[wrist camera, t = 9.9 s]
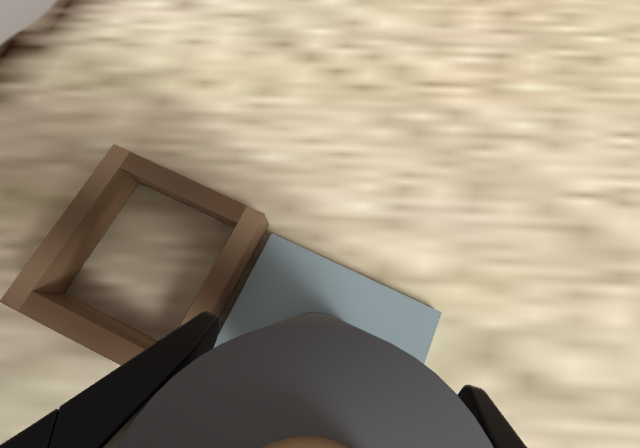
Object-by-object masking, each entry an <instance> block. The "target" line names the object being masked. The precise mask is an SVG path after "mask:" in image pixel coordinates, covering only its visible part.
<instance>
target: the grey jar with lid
mask: <svg viewBox="0 0 640 448" xmlns="http://www.w3.org/2000/svg"><path fill="white" fill-rule="evenodd" d="M117 448H493V446H492V444H491V442H490V440H489V439H488V437H487V436H486V434H485V432H484V431H483V429H482V428H481V426H480V424H479V423H478V421H477V420H476V418H475V417H474V415H473V414H472V413H471V412H470V410H469V409H468V408H467V407H466V405H465V404H464V403H463V402H462V400H461V399H460V398H459V397H458V395H457V394H456V393H455V392H454V391H453V390H452V389H451V388H450V387H449V386H448V385H447V384H446V383H445V382H444V381H443V380H442V379H441V378H440V377H439V376H438V375H437V374H436V373H434V372H433V371H432V370H431V369H429V368H428V367H427V366H425V365H424V364H423V363H422V362H420V361H419V360H418V359H416V358H415V357H414V356H412V355H410V354H409V353H407V352H405V351H403V350H402V349H400V348H398V347H397V346H395V345H393V344H392V343H390V342H387V341H385V340H383V339H381V338H379V337H377V336H374V335H372V334H370V333H368V332H366V331H364V330H362V329H359V328H357V327H355V326H353V325H351V324H349V323H346V322H344V321H342V320H340V319H338V318H336V317H333V316H331V315H328V314H324V313H318V312H312V313H304V314H301V315H298V316H295V317H292V318H289V319H286V320H283V321H280V322H277V323H274V324H272V325H269V326H266V327H263V328H260V329H257V330H254V331H251V332H248V333H245V334H243V335H241V336H238V337H236V338H234V339H231V340H229V341H227V342H224V343H222V344H220V345H218V346H217V347H215V348H213V349H211V350H210V351H208V352H206V353H205V354H203V355H201V356H200V357H198V358H196V359H195V360H194V361H193V362H191V363H190V364H189V365H187V366H186V367H185V368H183V369H182V370H181V371H180V372H178V373H177V374H176V375H175V376H173V377H172V378H171V379H170V380H169V381H168V382H167V383H166V384H165V385H164V386H163V387H162V388H161V389H160V390H159V391H158V392H157V393H156V394H155V395H154V396H153V397H152V399H151V400H150V401H149V402H148V404H147V405H146V406H145V407H144V408H143V410H142V411H141V412H140V413H139V415H138V416H137V417H136V418H135V420H134V421H133V423H132V424H131V426H130V427H129V429H128V430H127V432H126V433H125V435H124V437H123V438H122V440H121V441H120V443H119V444H118V446H117Z"/></svg>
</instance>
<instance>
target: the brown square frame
mask: <svg viewBox="0 0 640 448" xmlns="http://www.w3.org/2000/svg"><path fill="white" fill-rule="evenodd" d="M138 183H142V184H144V185H146V186H148V187H150V188H152V189H154V190H156V191H159V192H161V193H163V194H165V195H167V196H169V197H171V198H173V199H176V200H178V201H180V202H182V203H184V204H186V205H188V206H190V207H193V208H195V209H197V210H199V211H201V212H203V213H205V214H207V215H210V216H212V217H214V218H216V219H218V220H220V221H222V222H224V223H227V224H229V225H231V226H233V227H235V229H234V230H233V232H232V234H231V236H230V238H229V239H228V241H227V243H226V245H225V246H224V248H223V250H222V252H221V254H220V255H219V257H218V259H217V261H216V263H215V264H214V266H213V268H212V270H211V271H210V273H209V275H208V277H207V279H206V280H205V282H204V284H203V286H202V288H201V289H200V291H199V293H198V295H197V296H196V298H195V300H194V302H193V304H192V305H191V307H190V309H189V311H188V313H187V314H186V316H185V318H184V320H183V321H182V323H181V325H180V326H182V325H183V324H185V323H186V322H188V321H189V320H191V319H192V318H194V317H195V316H197V315H198V314H200V313H201V312H204V311H207V312H211V313H214V314H217V315H218V316H219V318H220V316H221V314H222V312H223V310H224V308H225V306H226V304H227V303H228V301H229V299H230V297H231V295H232V293H233V291H234V289H235V287H236V286H237V284H238V282H239V280H240V278H241V276H242V274H243V272H244V270H245V269H246V267H247V265H248V263H249V261H250V259H251V257H252V255H253V253H254V252H255V250H256V248H257V246H258V244H259V242H260V240H261V238H262V237H263V235H264V233H265V231H266V229H267V227H268V225H269V223H268V221H267V219H266V216H265V214H263V213H261V212H259V211H257V210H255V209H252V208H250V207H248V206H246V205H244V204H242V203H240V202H237V201H235V200H233V199H231V198H229V197H227V196H224V195H222V194H220V193H218V192H216V191H214V190H211V189H209V188H207V187H205V186H203V185H201V184H199V183H196V182H194V181H192V180H190V179H188V178H186V177H183V176H181V175H179V174H177V173H175V172H173V171H170V170H168V169H166V168H164V167H162V166H160V165H157V164H155V163H153V162H151V161H149V160H147V159H145V158H142V157H140V156H138V155H136V154H134V153H132V152H129V151H127V150H125V149H123V148H121V147H119V146H116V145H113V146H112V148H111V149H110V151H109V152H108V153H107V155H106V156H105V157H104V159H103V160H102V161H101V163H100V164H99V166H98V167H97V168H96V170H95V171H94V172H93V174H92V175H91V177H90V178H89V179H88V181H87V182H86V183H85V185H84V186H83V188H82V189H81V190H80V192H79V193H78V194H77V196H76V197H75V199H74V200H73V201H72V203H71V204H70V205H69V207H68V208H67V210H66V211H65V212H64V214H63V215H62V216H61V218H60V219H59V221H58V222H57V223H56V225H55V226H54V227H53V229H52V230H51V232H50V233H49V234H48V236H47V237H46V238H45V240H44V241H43V243H42V244H41V245H40V247H39V248H38V249H37V251H36V252H35V254H34V255H33V256H32V258H31V259H30V260H29V262H28V263H27V265H26V266H25V267H24V269H23V270H22V271H21V273H20V274H19V276H18V277H17V278H16V280H15V281H14V282H13V284H12V285H11V287H10V288H9V289H8V291H7V292H6V293H5V295H4V296H3V298H2V299H1V300H0V302H1V303H3V304H5V305H7V306H9V307H10V308H12V309H14V310H16V311H18V312H20V313H22V314H24V315H26V316H28V317H30V318H31V319H33V320H35V321H37V322H39V323H41V324H43V325H45V326H47V327H49V328H51V329H53V330H54V331H56V332H58V333H60V334H62V335H64V336H66V337H68V338H70V339H72V340H74V341H75V342H77V343H79V344H81V345H83V346H85V347H87V348H89V349H91V350H93V351H95V352H96V353H98V354H100V355H102V356H104V357H106V358H108V359H110V360H112V361H114V362H116V363H117V364H119V365H121V366H122V365H123V364H125V363H126V362H128V361H129V360H131V359H132V358H134V357H135V356H137V355H138V354H140V353H141V352H143V351H144V350H146V349H147V348H149V347H150V346H152V345H153V344H155V343H156V342H158V341H156V340H154V339H152V338H150V337H149V336H147V335H145V334H143V333H141V332H139V331H137V330H135V329H133V328H131V327H129V326H127V325H125V324H123V323H121V322H119V321H117V320H115V319H113V318H111V317H109V316H107V315H106V314H104V313H102V312H100V311H98V310H96V309H94V308H92V307H90V306H88V305H86V304H84V303H82V302H80V301H78V300H76V299H74V298H72V297H70V296H68V295H66V294H64V292H65V291H66V289H67V288H68V286H69V285H70V283H71V282H72V280H73V279H74V277H75V276H76V274H77V273H78V271H79V270H80V268H81V267H82V265H83V264H84V262H85V261H86V260H87V258H88V257H89V255H90V254H91V252H92V251H93V249H94V248H95V246H96V245H97V243H98V242H99V240H100V239H101V237H102V236H103V234H104V233H105V231H106V230H107V229H108V227H109V226H110V224H111V223H112V221H113V220H114V218H115V217H116V215H117V214H118V212H119V211H120V209H121V208H122V206H123V205H124V203H125V202H126V200H127V199H128V198H129V196H130V195H131V193H132V192H133V190H134V189H135V187H136V186H137V184H138Z"/></svg>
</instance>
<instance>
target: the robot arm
mask: <svg viewBox="0 0 640 448" xmlns="http://www.w3.org/2000/svg"><path fill="white" fill-rule="evenodd" d="M218 325H219V316H218V315H217V314H214V313H211V312H207V311H204V312H201V313H200V314H198V315H197V316H195V317H194V318H192V319H191V320H189V321H188V322H186V323H185V324H183V325H182V326H180V327H179V328H177V329H176V330H174V331H173V332H171V333H170V334H168V335H167V336H165V337H164V338H162V339H161V340H159V341H158V342H156V343H155V344H153V345H152V346H150V347H149V348H147V349H146V350H144V351H143V352H141V353H140V354H138V355H137V356H135V357H134V358H132V359H131V360H129V361H128V362H126V363H125V364H123V365H122V366H120V367H119V368H117V369H116V370H114V371H113V372H111V373H110V374H108V375H107V376H105V377H104V378H102V379H101V380H99V381H98V382H96V383H95V384H93V385H92V386H90V387H88V388H87V389H85V390H84V391H82V392H81V393H79V394H78V395H76V396H75V397H73V398H72V399H70V400H69V401H67V402H66V403H64V404H63V405H61V406H60V408H59V410H58V409H55V410H54V411H52V412H51V413H49V414H48V415H46V416H45V417H43V418H42V419H40V420H39V421H37V422H36V423H34V424H33V425H31V426H29V427H28V428H26V429H25V430H23V431H22V432H20V433H19V434H17V435H15V436H14V437H12V438H11V439H9V440H8V441H6V442H4V443H3V444H1V445H0V448H117V446H118V444H119V443H120V441H121V440H122V438H123V437H124V435H125V433H126V432H127V430H128V429H129V427H130V426H131V424H132V423H133V421H134V420H135V418H136V417H137V416H138V415H139V413H140V412H141V411H142V410H143V408H144V407H145V406H146V405H147V404H148V402H149V401H150V400H151V399H152V397H153V396H154V395H155V394H156V393H157V392H158V391H159V390H160V389H161V388H162V387H163V386H164V385H165V384H166V383H167V382H168V381H169V380H170V379H171V378H172V377H173V376H175V375H176V374H177V373H178V372H180V371H181V370H182V369H183V368H185V367H186V366H187V365H189V364H190V363H191V362H193V361H194V360H195V359H196V358H198V357H200V356H201V355H203V354H205V353H206V352H208V351H210V350H211V349H213V348H214V345H215V343H216V340H217V336H218ZM458 397H459V398H460V399H461V400H462V402H463V403H464V404H465V405H466V407H467V408H468V409H469V410H470V412H471V413H472V414H473V415H474V417H475V418H476V420H477V421H478V423H479V424H480V426H481V428H482V429H483V431H484V432H485V434H486V436H487V437H488V439H489V440H490V442H491V444H492V446H493V448H527V447H526V446H525V444H524V443H523V442H522V440H521V439H520V438H519V436H518V435H517V434H516V432H515V431H514V430H513V428H512V427H511V426H510V424H509V423H508V422H507V420H506V419H505V418H504V416H503V415H502V414H501V412H500V411H499V410H498V408H497V407H496V406H495V404H494V403H493V402H492V400H491V399H490V398H489V396H488V395H487V394H486V392H485V391H484V390H483V389H481V388H478V387H475V386H471V385H465V386H464V387H463V388H462V389H461V391H460V392H459V393H458Z"/></svg>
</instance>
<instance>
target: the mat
mask: <svg viewBox="0 0 640 448" xmlns="http://www.w3.org/2000/svg"><path fill="white" fill-rule="evenodd" d="M312 312H318V313H324V314H328V315H331V316H333V317H336V318H338V319H340V320H342V321H344V322H346V323H349V324H351V325H353V326H355V327H357V328H359V329H362V330H364V331H366V332H368V333H370V334H372V335H374V336H377V337H379V338H381V339H383V340H385V341H387V342H390V343H392V344H393V345H395V346H397V347H398V348H400V349H402V350H403V351H405V352H407V353H409V354H410V355H412V356H414V357H415V358H416V359H418V360H419V361H420V362H422V363H423V364H424V362H425V359H426V357H427V354H428V351H429V348H430V345H431V342H432V339H433V336H434V333H435V330H436V327H437V324H438V321H439V319H440V316H441V313H442V312H440V311H437V310H435V309H433V308H431V307H429V306H427V305H425V304H422V303H420V302H418V301H416V300H414V299H412V298H410V297H407V296H405V295H403V294H401V293H399V292H397V291H395V290H392V289H390V288H388V287H386V286H384V285H382V284H380V283H377V282H375V281H373V280H371V279H369V278H367V277H365V276H362V275H360V274H358V273H356V272H354V271H352V270H350V269H347V268H345V267H343V266H341V265H339V264H337V263H335V262H333V261H330V260H328V259H326V258H324V257H322V256H320V255H318V254H315V253H313V252H311V251H309V250H307V249H305V248H303V247H300V246H298V245H296V244H294V243H292V242H290V241H288V240H285V239H283V238H281V237H279V236H277V235H275V234H273V233H271V235H270V237H269V239H268V241H267V243H266V245H265V247H264V249H263V251H262V253H261V254H260V256H259V258H258V260H257V262H256V264H255V266H254V268H253V270H252V272H251V274H250V275H249V277H248V279H247V281H246V283H245V285H244V287H243V289H242V291H241V293H240V295H239V296H238V298H237V300H236V302H235V304H234V306H233V308H232V310H231V312H230V314H229V316H228V317H227V319H226V321H225V323H224V325H223V327H222V329H221V331H220V333H219V335H218V337H217V340H216V343H215V345H214V348H215V347H217V346H218V345H220V344H222V343H224V342H227V341H229V340H231V339H234V338H236V337H238V336H241V335H243V334H245V333H248V332H251V331H254V330H257V329H260V328H263V327H266V326H269V325H272V324H274V323H277V322H280V321H283V320H286V319H289V318H292V317H295V316H298V315H301V314H304V313H312Z"/></svg>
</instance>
